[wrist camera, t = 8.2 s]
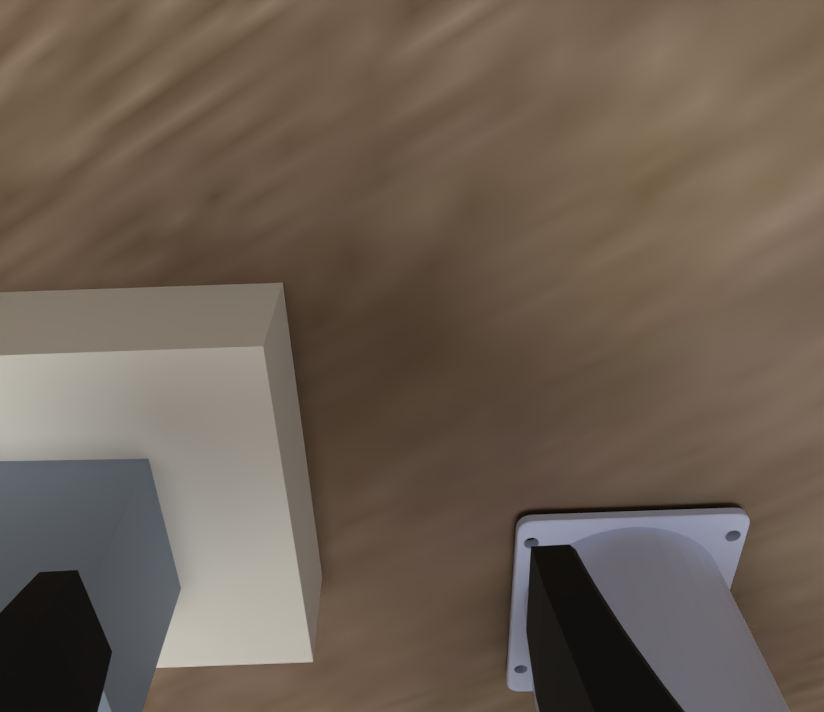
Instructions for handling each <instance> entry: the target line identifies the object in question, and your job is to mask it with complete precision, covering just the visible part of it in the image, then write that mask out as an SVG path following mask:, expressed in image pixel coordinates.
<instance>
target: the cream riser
mask: <svg viewBox="0 0 824 712" xmlns="http://www.w3.org/2000/svg"><path fill="white" fill-rule="evenodd" d="M104 459H149V463H150V467H151V471H152V475H153V479H154V483H155V487H156V491H157V495H158V499H159V503H160V507H161V511H162V515H163V519H164V523H165V527H166V531H167V535H168V539H169V543H170V547H171V551H172V555H173V559H174V563H175V567H176V571H177V575H178V579H179V582H180V586H181V590H180V594H179V597H178V600H177V603H176V606H175V609H174V612H173V616H172V619H171V622H170V625H169V628H168V631H167V634H166V637H165V641H164V644H163V647H162V650H161V653H160V656H159V659H158V663H157V666H156V668H166V667H192V666H219V665H246V664H273V663H300V662H313V659H314V649H315V640H316V631H317V622H318V613H319V603H320V594H321V585H322V572H321V564H320V557H319V550H318V542H317V535H316V527H315V520H314V512H313V505H312V498H311V490H310V483H309V475H308V468H307V460H306V453H305V446H304V438H303V431H302V423H301V416H300V408H299V401H298V393H297V386H296V379H295V371H294V364H293V356H292V349H291V341H290V334H289V327H288V319H287V312H286V304H285V297H284V289H283V283H260V284H230V285H201V286H172V287H142V288H113V289H83V290H54V291H25V292H0V461H43V460H104Z"/></svg>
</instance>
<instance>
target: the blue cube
mask: <svg viewBox="0 0 824 712" xmlns="http://www.w3.org/2000/svg"><path fill="white" fill-rule="evenodd" d="M69 570H78V572H79V575H80V577H81V579H82V582H83V584H84V586H85V589H86V591H87V593H88V596H89V598H90V601H91V603H92V605H93V608H94V610H95V612H96V615H97V617H98V619H99V622H100V624H101V626H102V629H103V631H104V634H105V636H106V638H107V641H108V643H109V645H110V648H111V650H112V655H111V659H110V664H109V668H108V672H107V676H106V681H105V685H104V689H103V693H102V697H101V701H100V704H99V708H98V712H142V709H143V706H144V703H145V700H146V697H147V694H148V691H149V688H150V684H151V681H152V678H153V675H154V672H155V669H156V666H157V663H158V659H159V656H160V653H161V650H162V647H163V644H164V641H165V637H166V634H167V631H168V628H169V625H170V622H171V619H172V616H173V612H174V609H175V606H176V603H177V600H178V597H179V594H180V590H181V586H180V582H179V579H178V575H177V571H176V567H175V563H174V559H173V555H172V551H171V547H170V543H169V539H168V535H167V531H166V527H165V523H164V519H163V515H162V511H161V507H160V503H159V499H158V495H157V491H156V487H155V483H154V479H153V475H152V471H151V467H150V463H149V459H104V460H43V461H0V612H1V611H2V610H3V609H4V608H5V607H6V606H7V605H8V604H9V603H10V602H11V601H12V600H13V599H14V598H15V597H16V596H17V594H18V593H19V592H20V591H21V590H22V589H23V588H24V587H25V586H26V585H27V584H28V583H29V582H30V581H31V580H32V579H33V578H34V577H35V576H36V575H37V574H38V573H39V572H49V571H69Z"/></svg>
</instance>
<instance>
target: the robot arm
mask: <svg viewBox="0 0 824 712" xmlns="http://www.w3.org/2000/svg"><path fill="white" fill-rule="evenodd" d="M749 525H750V519H749V517H748V516H747V514H746V512H745V511H744V510H743V509H741V508H707V509H679V510H651V511H623V512H596V513H568V514H540V515H527V516H524V517H522V518H521V519H520V520H519V521H518V522H517V525H516V535H515V550H514V565H513V580H512V595H511V611H510V626H509V641H508V656H507V672H506V680H507V686H508V688H509V689H511V690H513V691H519V692H520V691H533V694H534V700H535V705H536V711H537V712H791V711H790V709H789V707H788V705H787V703H786V701H785V699H784V698H783V696H782V694H781V692H780V690H779V688H778V686H777V684H776V682H775V680H774V678H773V676H772V674H771V672H770V670H769V668H768V666H767V664H766V662H765V660H764V658H763V656H762V654H761V652H760V650H759V648H758V646H757V644H756V642H755V640H754V638H753V636H752V634H751V632H750V630H749V628H748V626H747V624H746V622H745V620H744V618H743V616H742V614H741V612H740V610H739V608H738V606H737V604H736V602H735V600H734V598H733V596H732V594H731V592H730V588H731V585H732V582H733V578H734V575H735V572H736V568H737V565H738V562H739V558H740V555H741V552H742V548H743V545H744V542H745V538H746V535H747V532H748V528H749ZM730 531H732V532H730ZM728 532H730V533H728ZM528 538H534V539H533V540H526V539H528ZM111 655H112V650H111V648H110V645H109V643H108V641H107V638H106V636H105V634H104V631H103V629H102V626H101V624H100V622H99V619H98V617H97V615H96V612H95V610H94V608H93V605H92V603H91V601H90V598H89V596H88V593H87V591H86V589H85V586H84V584H83V582H82V579H81V577H80V575H79V572H78V570H69V571H49V572H39V573H38V574H37V575H36V576H35V577H34V578H33V579H32V580H31V581H30V582H29V583H28V584H27V585H26V586H25V587H24V588H23V589H22V590H21V591H20V592H19V593H18V594H17V596H16V597H15V598H14V599H13V600H12V601H11V602H10V603H9V604H8V605H7V606H6V607H5V608H4V609H3V610H2V611H1V612H0V712H98V708H99V704H100V701H101V697H102V693H103V689H104V685H105V681H106V676H107V672H108V668H109V664H110V659H111Z"/></svg>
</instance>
